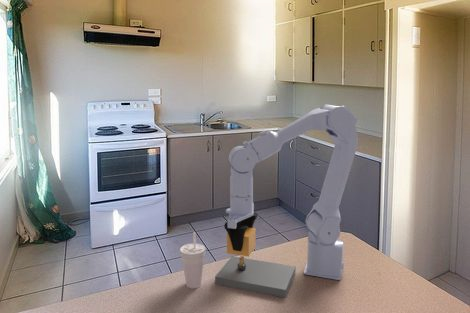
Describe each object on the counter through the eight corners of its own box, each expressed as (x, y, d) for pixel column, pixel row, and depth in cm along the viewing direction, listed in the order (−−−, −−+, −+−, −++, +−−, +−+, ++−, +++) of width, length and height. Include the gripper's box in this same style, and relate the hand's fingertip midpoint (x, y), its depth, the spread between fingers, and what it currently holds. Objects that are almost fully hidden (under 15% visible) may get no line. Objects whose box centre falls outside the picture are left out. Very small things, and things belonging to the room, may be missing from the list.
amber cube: (255, 247, 97) (255, 228, 96) (248, 256, 92) (248, 237, 91) (234, 243, 99) (234, 225, 98) (227, 253, 94) (226, 233, 93)
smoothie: (202, 292, 89) (201, 238, 87) (177, 289, 90) (175, 236, 88) (209, 279, 95) (208, 228, 93) (185, 276, 97) (183, 226, 94)
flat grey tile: (295, 273, 98) (295, 255, 97) (285, 297, 87) (285, 277, 86) (231, 262, 104) (231, 245, 103) (215, 284, 93) (214, 264, 92)
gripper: (236, 185, 101) (236, 232, 103) (215, 201, 87) (216, 254, 90) (261, 187, 98) (260, 235, 101) (243, 204, 85) (243, 259, 88)
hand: (241, 245), depth 95 cm, fingers closed on amber cube, 6 cm apart
